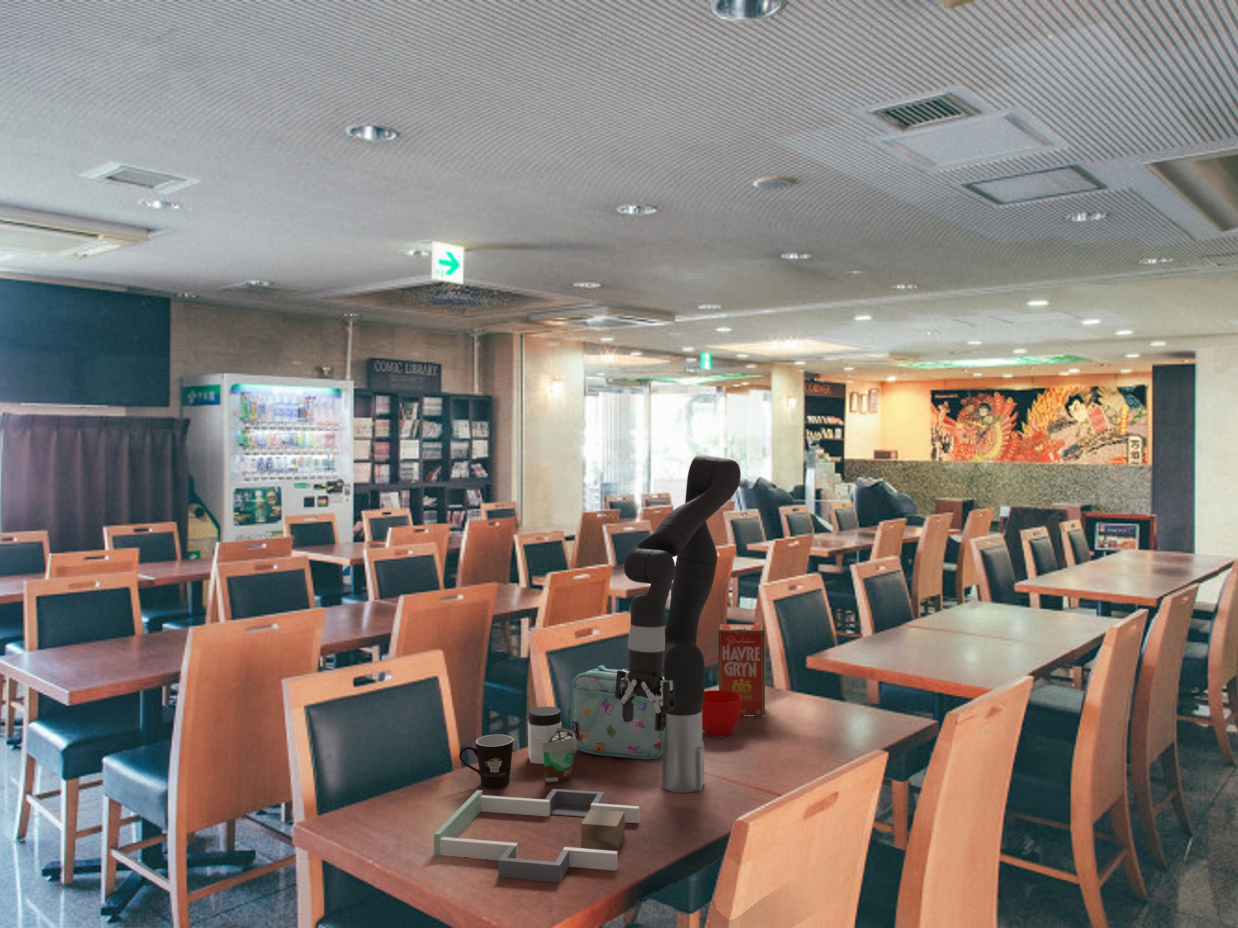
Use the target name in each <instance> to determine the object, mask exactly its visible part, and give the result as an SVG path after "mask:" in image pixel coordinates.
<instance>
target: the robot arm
mask: <svg viewBox="0 0 1238 928" xmlns="http://www.w3.org/2000/svg"><path fill="white" fill-rule="evenodd" d="M741 477H742V476H741V467H740V465H739V463H738V462H737V461H735V460H734V459H730V458H727V457H726V458H725V457H719V456H713V455H705V454H698V455H696V456H694V457H693V459H692V460H691V462H690V465H689V468H688V472H687V478H686V485H685V486H686V487H685V498H684V500H685V501H684V503H683V504H681V505H680V506H678V507H676V508H674V509H673V510H672V511H671V512H669V513H668V514H667V515H666V516H665V518H664V519H663V520H662V522H661V523H660V524H659V525H658V526H657V528H656V529H655V531H654V532H652V533H651V534H649V535H648V536H646V537H645V538H644V539H643V540H641V541H640V542H638V543H637V544H636V545H634V546H633V547H632V548H631V549H630V550H629V551H628V553H627V555H626V557H625V559H624V563H623V568H624V569H623V570H624V573H625V577H627V578H628V580H630V581H631V582H634V583H641V584H648V585H649V588H648V590H647V593H646V594H645V593H644V594H638V595H635V596H633V597H632V599H631V602H630V603H631V604H630V620H629V621H630V624H629V632H628V642H627V643H628V645H627V647H628V650H627V668H625V669H618V670H619V671H617V678H616V690H615V698H616V699H620V700H621V702H622V703H623V713H622V716H623V719H624V722H631V721H632V720H633V705H634V703H632V701H633V700H634V698H635V697H636V696H643V697H644V698H649V700H650V702H651V703H652V704H653V705H654V707H655V709H656V711H657V712H656V715H655V730H656V731H662V754H661V784H662V788H663V789H665V790H667V791H669V792H672V793H681V794H683V793H685V794H689V793H693V792H702V791H703V787H704V783H705V743H704V740H703V730H702V702H703V699H704V691H705V681H706V680H705V678H706V676H705V675H706V669H705V665H706V663H705V658H704V654H703V652H702V650H701V649H700V647H698V646H697V637H698V629H699V622H700V621H699V620H700V617H701V614H702V611H703V610H704V607H705V605H706V603H707V601H708V599H709V596H710V594H711V591H712V588H713V585H714V581H715V575H716V570H717V564H718V552H717V548H716V545H715V542H714V539H713V536H712V535H711V532H710V530H709V527H708V523H707V521H708V520H709V519H710V518H712V516H713V515H714V514H716V512H718V510H720V509H721V508H722V507H723V506H724V505H725V504H726V503H727V502H729V500H730V499H731V498H732V497H733V496H734V495H735V493H736V492H737V491H738V488H739V486H740V483H741ZM674 557H676V560H674ZM670 590H671V594H670ZM669 594H670V602H669V611H668V616H667V621H666V623H665V619H666V605H667V600H668V597H669ZM663 675H664V676H663ZM662 677H664V680H663V678H662ZM628 680H629V682H630V686H629V687H628ZM661 687H662V688H661ZM621 688H622V691H621ZM662 690H663V692H662ZM656 694H657V695H658V697H655V695H656ZM659 703H660V704H659ZM660 705H661V706H660Z"/></svg>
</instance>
